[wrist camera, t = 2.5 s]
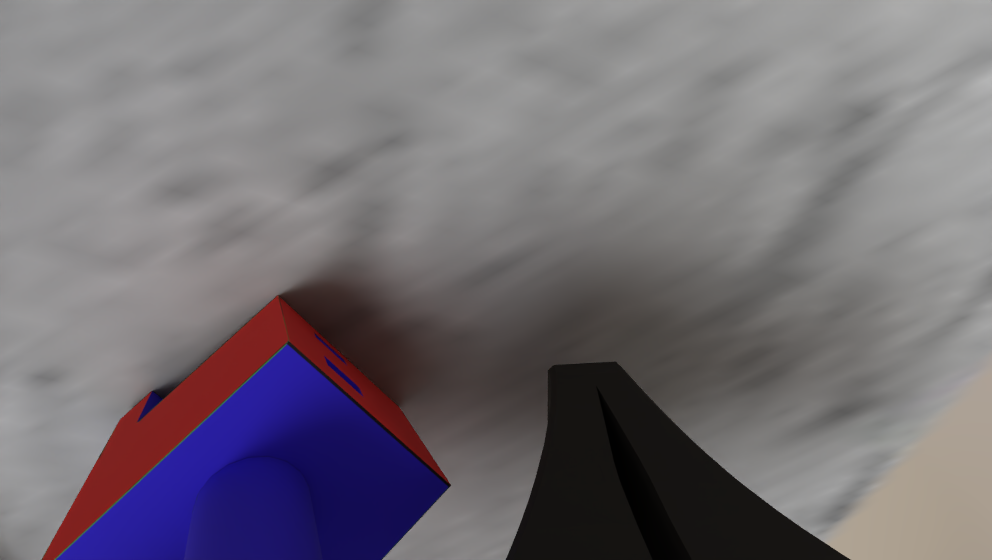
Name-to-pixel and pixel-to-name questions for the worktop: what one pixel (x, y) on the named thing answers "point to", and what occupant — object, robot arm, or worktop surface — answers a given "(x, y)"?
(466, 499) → the worktop surface
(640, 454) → the robot arm
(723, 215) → the worktop surface
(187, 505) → the toy building block
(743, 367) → the worktop surface
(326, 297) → the worktop surface
